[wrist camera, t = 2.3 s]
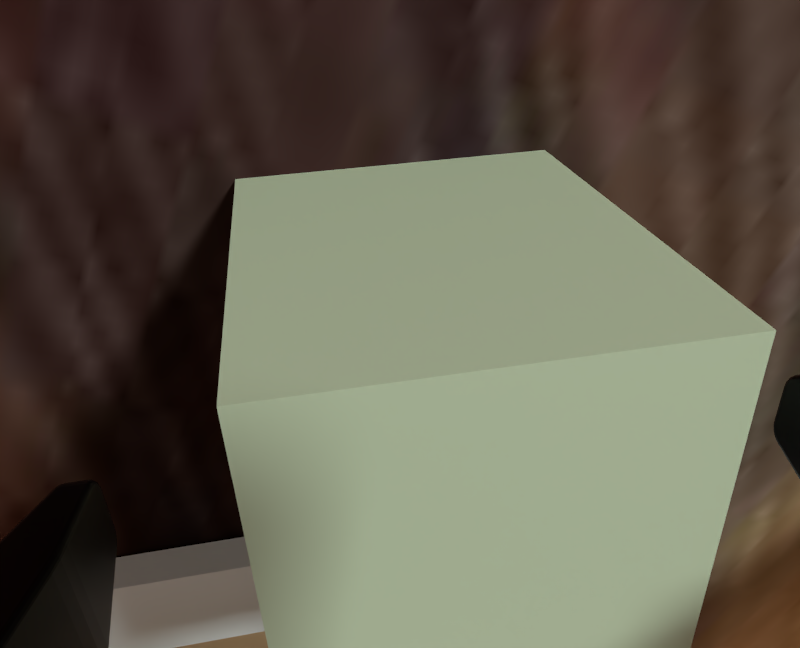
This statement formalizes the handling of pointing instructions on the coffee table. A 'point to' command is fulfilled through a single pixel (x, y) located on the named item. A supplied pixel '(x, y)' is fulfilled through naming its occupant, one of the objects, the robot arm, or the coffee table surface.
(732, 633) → the coffee table surface
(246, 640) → the base block
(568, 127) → the coffee table surface
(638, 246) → the top block
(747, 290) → the coffee table surface
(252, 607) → the white rectangular plate
